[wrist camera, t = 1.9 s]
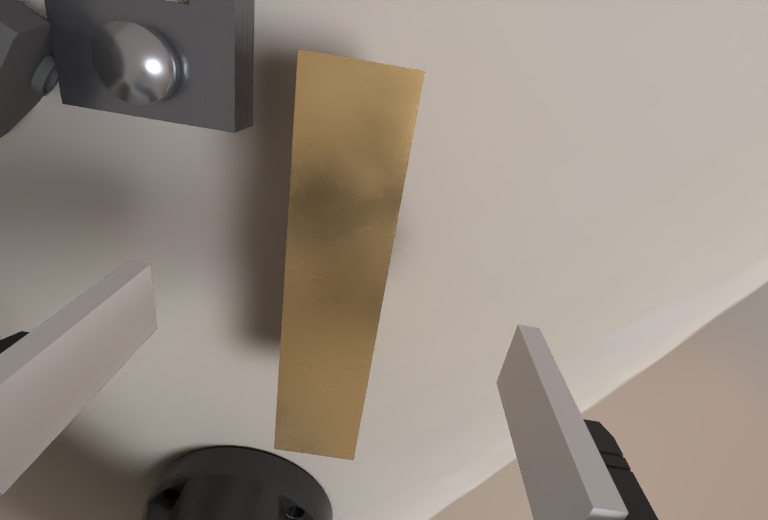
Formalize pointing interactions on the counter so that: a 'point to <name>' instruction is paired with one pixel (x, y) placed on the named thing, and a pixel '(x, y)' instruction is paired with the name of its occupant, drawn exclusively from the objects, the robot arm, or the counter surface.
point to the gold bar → (339, 241)
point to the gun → (23, 62)
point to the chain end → (157, 58)
